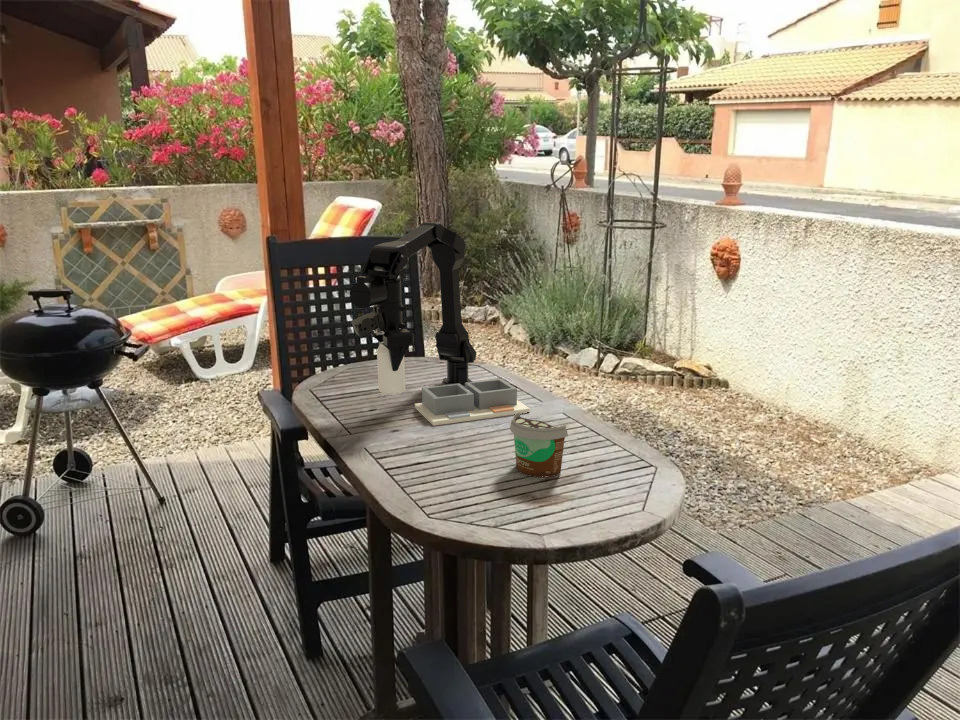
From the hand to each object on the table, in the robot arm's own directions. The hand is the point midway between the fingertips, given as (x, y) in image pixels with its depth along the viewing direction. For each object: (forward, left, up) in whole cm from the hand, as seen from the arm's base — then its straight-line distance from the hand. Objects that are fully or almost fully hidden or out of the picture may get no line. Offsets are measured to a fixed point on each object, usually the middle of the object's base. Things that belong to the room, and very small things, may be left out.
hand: (391, 367), depth 179 cm
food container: (+44, +15, -11) cm, 48 cm away
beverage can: (0, 0, -6) cm, 6 cm away
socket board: (+5, +18, -11) cm, 22 cm away
